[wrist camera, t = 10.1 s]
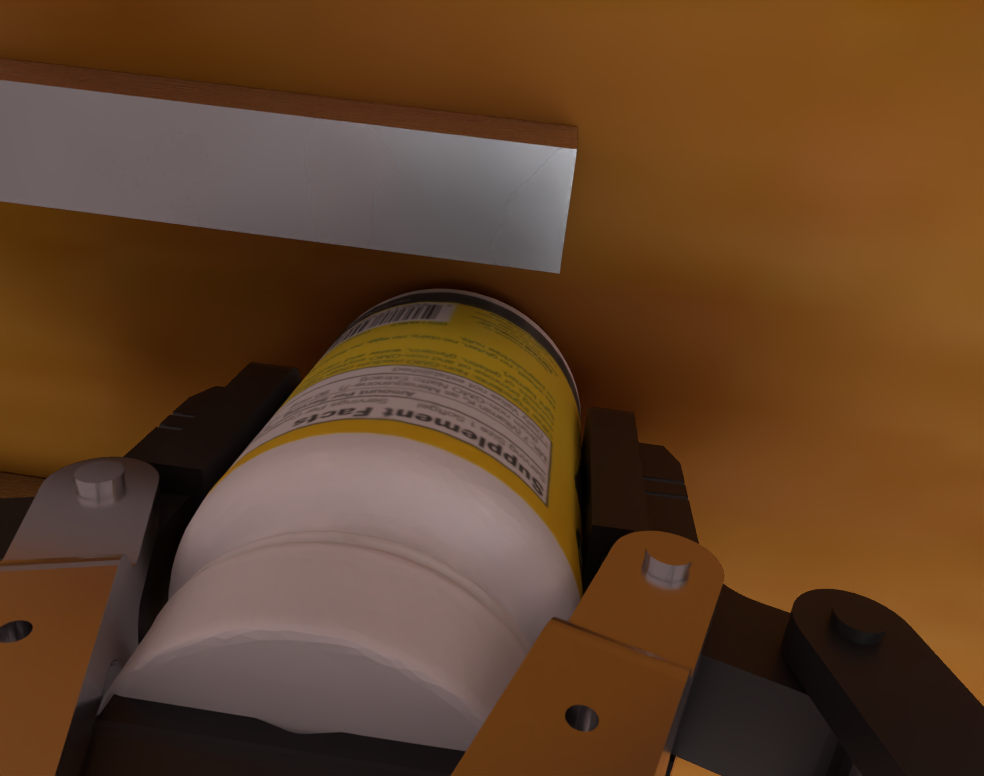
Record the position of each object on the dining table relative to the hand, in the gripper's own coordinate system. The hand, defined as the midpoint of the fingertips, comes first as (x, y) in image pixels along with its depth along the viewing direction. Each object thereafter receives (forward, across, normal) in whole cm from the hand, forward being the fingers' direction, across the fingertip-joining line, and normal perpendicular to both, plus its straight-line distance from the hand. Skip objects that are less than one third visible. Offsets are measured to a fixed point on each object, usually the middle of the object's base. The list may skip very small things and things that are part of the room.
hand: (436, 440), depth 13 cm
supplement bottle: (+2, 0, 0) cm, 2 cm away
